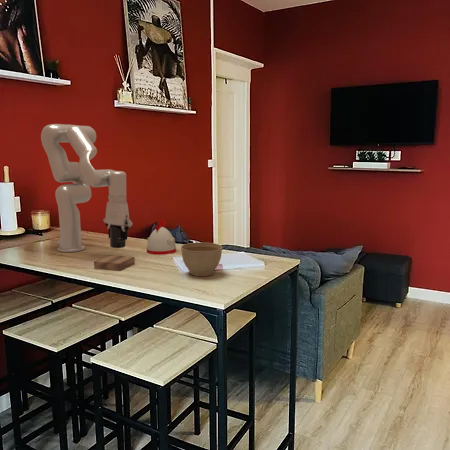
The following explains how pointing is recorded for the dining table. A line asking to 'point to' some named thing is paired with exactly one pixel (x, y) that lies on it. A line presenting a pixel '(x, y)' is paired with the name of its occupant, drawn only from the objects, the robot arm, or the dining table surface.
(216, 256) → the planter bowl
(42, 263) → the dining table surface
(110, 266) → the base block
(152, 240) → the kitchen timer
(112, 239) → the supplement bottle
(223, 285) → the dining table surface
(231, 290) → the dining table surface
